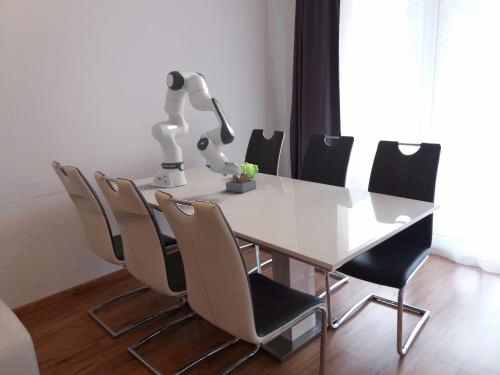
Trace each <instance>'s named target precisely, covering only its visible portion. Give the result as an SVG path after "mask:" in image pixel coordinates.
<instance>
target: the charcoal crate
mask: <svg viewBox="0 0 500 375" xmlns="http://www.w3.org/2000/svg"><path fill="white" fill-rule="evenodd" d="M254 190H257V180H256V179H252V178H251V179H248V182H247V183H244V184H238V183H233V179H231V180H229V181H226V182H225V191H226V192H231V193H237V194H245V193H249V192H251V191H254Z"/></svg>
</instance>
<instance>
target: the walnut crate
mask: <svg viewBox="0 0 500 375" xmlns="http://www.w3.org/2000/svg"><path fill="white" fill-rule="evenodd" d="M232 180H233V183H238V184H244V183H247V182H248V174H243V173H241V175H240V178H237V177H236V175H232Z"/></svg>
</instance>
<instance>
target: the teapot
mask: <svg viewBox="0 0 500 375" xmlns="http://www.w3.org/2000/svg"><path fill="white" fill-rule="evenodd" d="M238 165H239V164H238ZM239 166H240V167H241V168H242V170H243V171H242V173H243V174H248V179H251V180H252V178H253V177H254V176H255V175H256V173H258V172H259V168H258V165H256V164H253V163H248V162H244V163H242V164H240V165H239Z"/></svg>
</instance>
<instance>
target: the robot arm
mask: <svg viewBox="0 0 500 375" xmlns="http://www.w3.org/2000/svg"><path fill="white" fill-rule="evenodd" d="M166 85H167V90H166V95H165V100H164V101H165V102H164V105H163V106H164V107H163V108H164V110H163V111H164V112H165V113H166V114H167V115H168V120H163V121H159V122H155V123H154V124H153V125H152V126H151V130H150V132H151V136H152V137H153V139H154V140H156V141H157V142H158V143H159V145H160V147H161V150H162V154H163V162H162V163H160V167H161V168H160V170H159V171H158V172H156V173H155V174H154V176H153V182H151V183H150V185H149V186H150V187H157V188H167V189H168V188H173V187H174V188H175V187H181V186H184V185H185V186H186V184H188V181H187V178H186V175H185V167H184V166H185V165H184V160H183V150H182V148H181V147H180V146H179V145H178V144H177V142H176V141H175V139H178V138H182V137H184V136H186V135H187V134H188V133H189V128H190V127H189V125H188V123H187V122H186V120H185V117H184V109H185V103H186V96H187V95H188V98H189V102H190V105H191V106H192V108H193V109H195V110H197V111H199V112H213V113H214V116H215V117H216V120H217V122H218V124H219V125H218V127H215V128H213V129H210V130H208V131H206V132H203V133H202V134H201V135H200V138H199V140H198V141H197V142H196V148H197V150H198V152H199V154H200V155H201V156H202V158H204V160H205V161H206V162H205V164H204V166H205V167H206V168H207V169H208V170H209V171H210V172H212V173H214V174H215V173H216V174H220V175H222V177H227V176H228V175H232V176H233V175H236V177H237V178H240V175H241V173H242V171H243V170H242V168H241V167H240V166H239V164H238V163H236V162H234V161H229V160H228V158H227V156H226V155H225V154H224V152H223V151H221V150H220V149H219V148H220V147H223V146H226V145H229V144H231V143H233V141H234V140H235V136H236V133H235V131H234V129H233V127H232V126H231V124H230V122H229V121H228V118H227V116H226V114H225V112H224V110H223V108H222V106H221V105H220V102H219V101H218V100H217V99H216V98H215V97H212V96H211V94H210V91H209V89H208V88H209V87H208V86H207V83H206V78H205V76H204V75H203V74H202V73H199V72H194V71H189V70H184V71H183V70H181V71H179V70H173V71H170V72H169V73H168V74H167V76H166Z"/></svg>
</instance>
